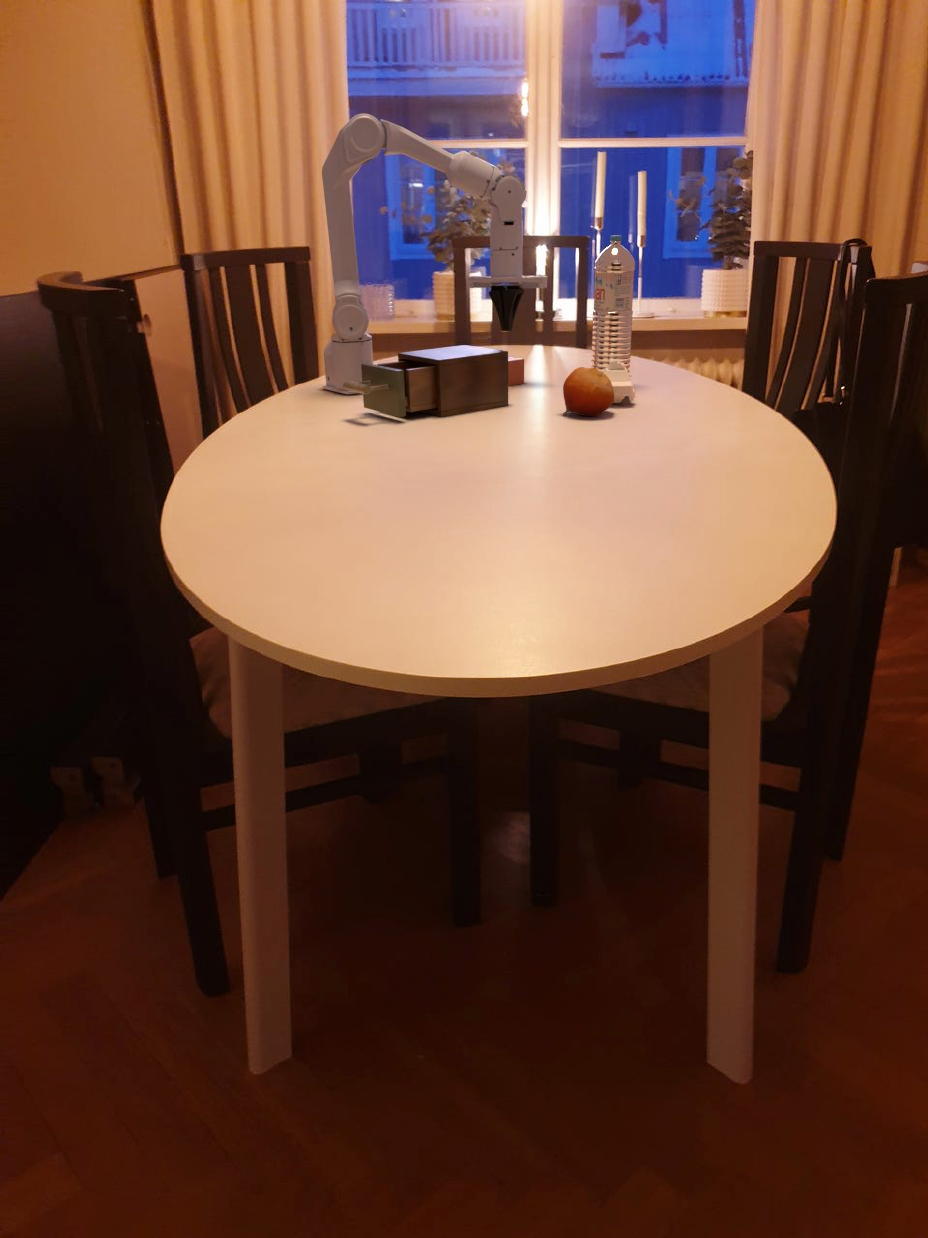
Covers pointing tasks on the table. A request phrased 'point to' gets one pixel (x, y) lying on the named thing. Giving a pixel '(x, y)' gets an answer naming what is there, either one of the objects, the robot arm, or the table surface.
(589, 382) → the fruit
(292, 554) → the table surface
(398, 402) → the drawer
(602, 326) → the water bottle
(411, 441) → the table surface
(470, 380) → the cabinet
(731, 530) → the table surface
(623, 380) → the toy car
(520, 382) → the block
